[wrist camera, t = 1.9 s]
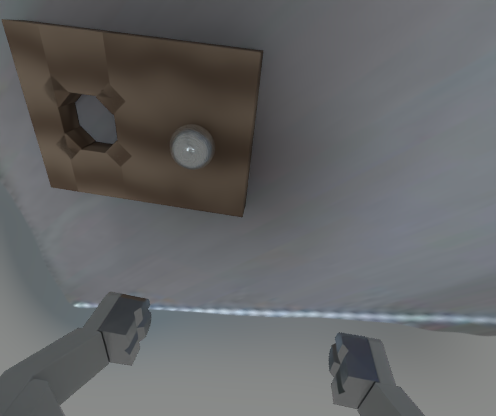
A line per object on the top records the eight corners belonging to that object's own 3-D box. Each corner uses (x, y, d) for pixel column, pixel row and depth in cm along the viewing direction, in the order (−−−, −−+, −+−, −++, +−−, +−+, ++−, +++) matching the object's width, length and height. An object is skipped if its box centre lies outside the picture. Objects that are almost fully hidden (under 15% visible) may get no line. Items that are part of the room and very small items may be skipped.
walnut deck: (24, 20, 26) (1, 19, 24) (263, 50, 25) (260, 52, 23) (65, 177, 35) (51, 187, 32) (245, 205, 33) (242, 217, 31)
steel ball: (177, 116, 26) (161, 128, 23) (220, 122, 26) (209, 135, 23) (178, 156, 29) (163, 173, 25) (218, 162, 28) (208, 180, 25)
